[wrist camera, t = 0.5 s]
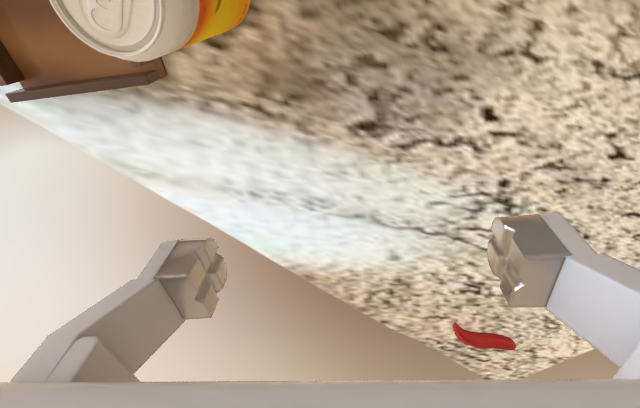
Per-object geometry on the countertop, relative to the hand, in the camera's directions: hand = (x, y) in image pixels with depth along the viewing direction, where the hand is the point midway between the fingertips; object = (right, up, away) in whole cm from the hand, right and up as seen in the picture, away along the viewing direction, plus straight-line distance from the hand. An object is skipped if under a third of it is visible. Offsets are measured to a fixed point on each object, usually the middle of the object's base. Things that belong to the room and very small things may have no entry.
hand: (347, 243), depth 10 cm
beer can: (-9, +19, +17) cm, 27 cm away
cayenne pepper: (+25, -20, +41) cm, 51 cm away
